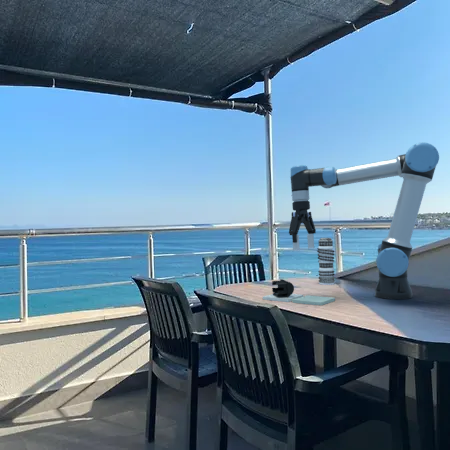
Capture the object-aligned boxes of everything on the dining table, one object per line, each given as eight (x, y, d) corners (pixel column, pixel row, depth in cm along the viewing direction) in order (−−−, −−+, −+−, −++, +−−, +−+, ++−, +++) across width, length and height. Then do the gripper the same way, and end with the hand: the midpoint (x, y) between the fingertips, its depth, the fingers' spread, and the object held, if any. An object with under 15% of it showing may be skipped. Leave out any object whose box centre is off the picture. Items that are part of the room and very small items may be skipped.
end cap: (294, 297, 182) (294, 281, 182) (278, 298, 181) (278, 282, 181) (287, 293, 192) (286, 278, 192) (272, 294, 190) (271, 279, 191)
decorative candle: (314, 283, 233) (313, 237, 233) (329, 282, 236) (328, 237, 236) (323, 285, 224) (322, 238, 224) (338, 284, 227) (337, 237, 227)
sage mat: (307, 297, 186) (307, 295, 186) (335, 300, 178) (335, 297, 178) (292, 302, 176) (292, 299, 176) (321, 305, 168) (321, 302, 168)
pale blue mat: (278, 295, 195) (278, 292, 195) (303, 297, 187) (303, 294, 187) (262, 299, 185) (262, 296, 185) (288, 302, 177) (288, 299, 177)
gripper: (306, 202, 198) (309, 247, 197) (278, 201, 178) (281, 251, 178) (321, 200, 193) (324, 247, 193) (294, 199, 173) (297, 251, 173)
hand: (304, 249), depth 185 cm, fingers open, 13 cm apart
